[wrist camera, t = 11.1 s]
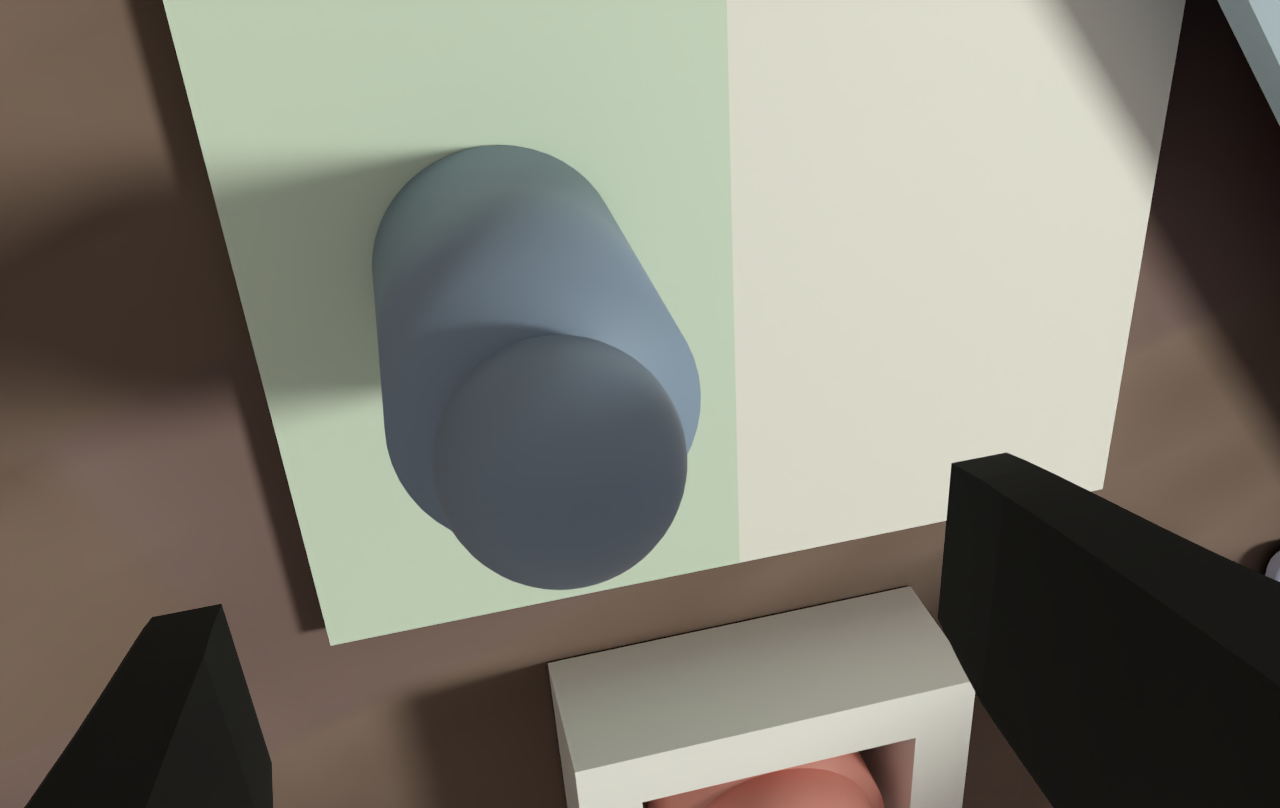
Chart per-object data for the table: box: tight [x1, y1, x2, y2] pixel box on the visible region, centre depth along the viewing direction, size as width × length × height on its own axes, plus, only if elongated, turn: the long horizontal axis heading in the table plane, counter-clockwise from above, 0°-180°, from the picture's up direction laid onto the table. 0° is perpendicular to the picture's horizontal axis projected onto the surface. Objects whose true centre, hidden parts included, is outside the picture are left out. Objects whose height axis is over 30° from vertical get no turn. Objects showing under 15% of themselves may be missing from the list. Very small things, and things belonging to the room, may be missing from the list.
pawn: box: [372, 145, 701, 590], centre depth 16 cm, size 4×4×8 cm
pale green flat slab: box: [163, 0, 1186, 645], centre depth 20 cm, size 16×14×1 cm
